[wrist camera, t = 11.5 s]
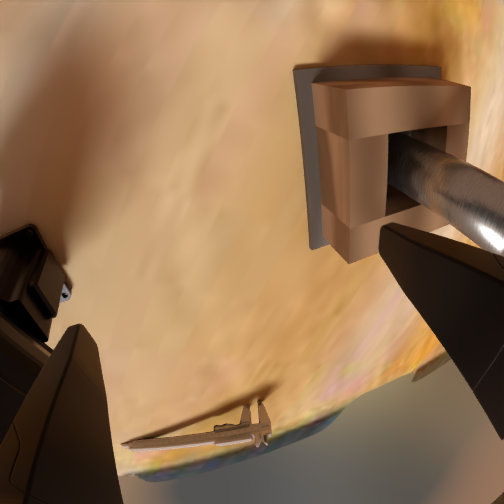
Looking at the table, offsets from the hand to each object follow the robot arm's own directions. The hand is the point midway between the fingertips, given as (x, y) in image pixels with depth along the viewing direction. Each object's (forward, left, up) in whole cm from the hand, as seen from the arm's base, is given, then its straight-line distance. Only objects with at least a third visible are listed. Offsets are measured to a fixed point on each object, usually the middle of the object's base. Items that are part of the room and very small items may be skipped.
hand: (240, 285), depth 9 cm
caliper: (-9, -32, -14) cm, 36 cm away
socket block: (+15, -3, -13) cm, 20 cm away
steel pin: (+15, -3, -13) cm, 20 cm away
